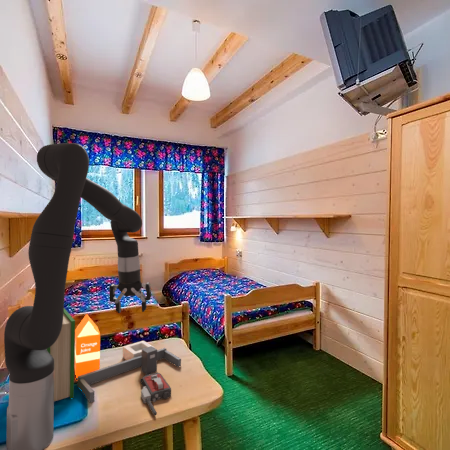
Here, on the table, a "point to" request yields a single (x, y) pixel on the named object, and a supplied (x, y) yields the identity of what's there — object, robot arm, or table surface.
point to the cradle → (118, 371)
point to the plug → (149, 360)
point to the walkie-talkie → (154, 389)
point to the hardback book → (64, 359)
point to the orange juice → (87, 347)
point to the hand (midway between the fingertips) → (131, 311)
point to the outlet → (134, 349)
